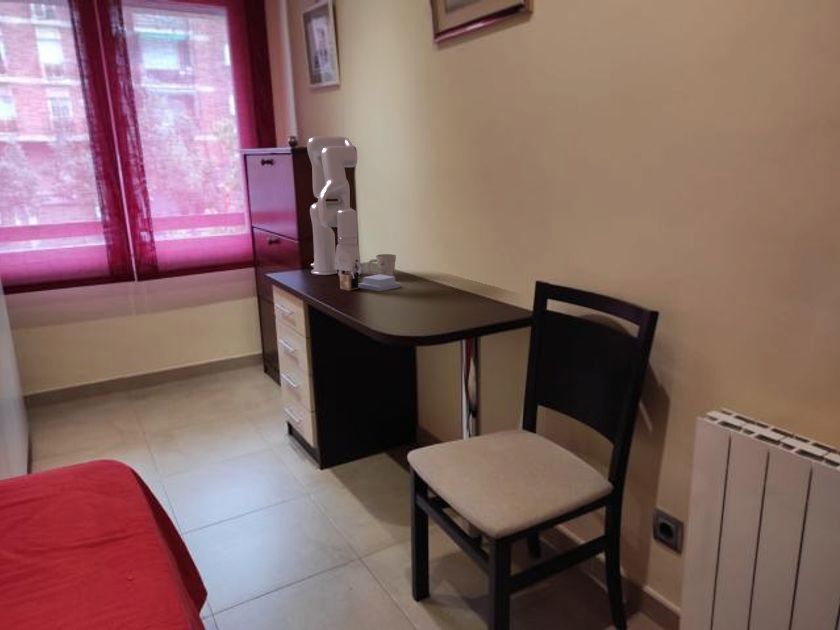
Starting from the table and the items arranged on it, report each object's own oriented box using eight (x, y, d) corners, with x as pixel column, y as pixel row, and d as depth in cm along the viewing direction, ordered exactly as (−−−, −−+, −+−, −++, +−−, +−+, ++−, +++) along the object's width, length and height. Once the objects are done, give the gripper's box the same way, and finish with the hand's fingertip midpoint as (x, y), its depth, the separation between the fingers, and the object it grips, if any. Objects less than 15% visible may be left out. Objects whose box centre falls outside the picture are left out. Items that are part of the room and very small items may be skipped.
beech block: (340, 288, 234) (339, 273, 232) (349, 286, 237) (349, 272, 236) (348, 290, 231) (348, 275, 229) (358, 288, 234) (357, 273, 233)
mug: (395, 280, 250) (395, 257, 247) (365, 280, 250) (365, 257, 247) (396, 276, 258) (396, 254, 255) (368, 276, 258) (367, 254, 255)
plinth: (358, 287, 236) (358, 277, 235) (379, 282, 245) (379, 273, 244) (379, 291, 228) (379, 281, 227) (400, 286, 237) (400, 276, 236)
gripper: (325, 240, 232) (327, 285, 237) (355, 244, 221) (356, 291, 225) (340, 238, 238) (341, 282, 242) (370, 242, 226) (371, 288, 231)
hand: (349, 286), depth 234 cm, fingers open, 6 cm apart
